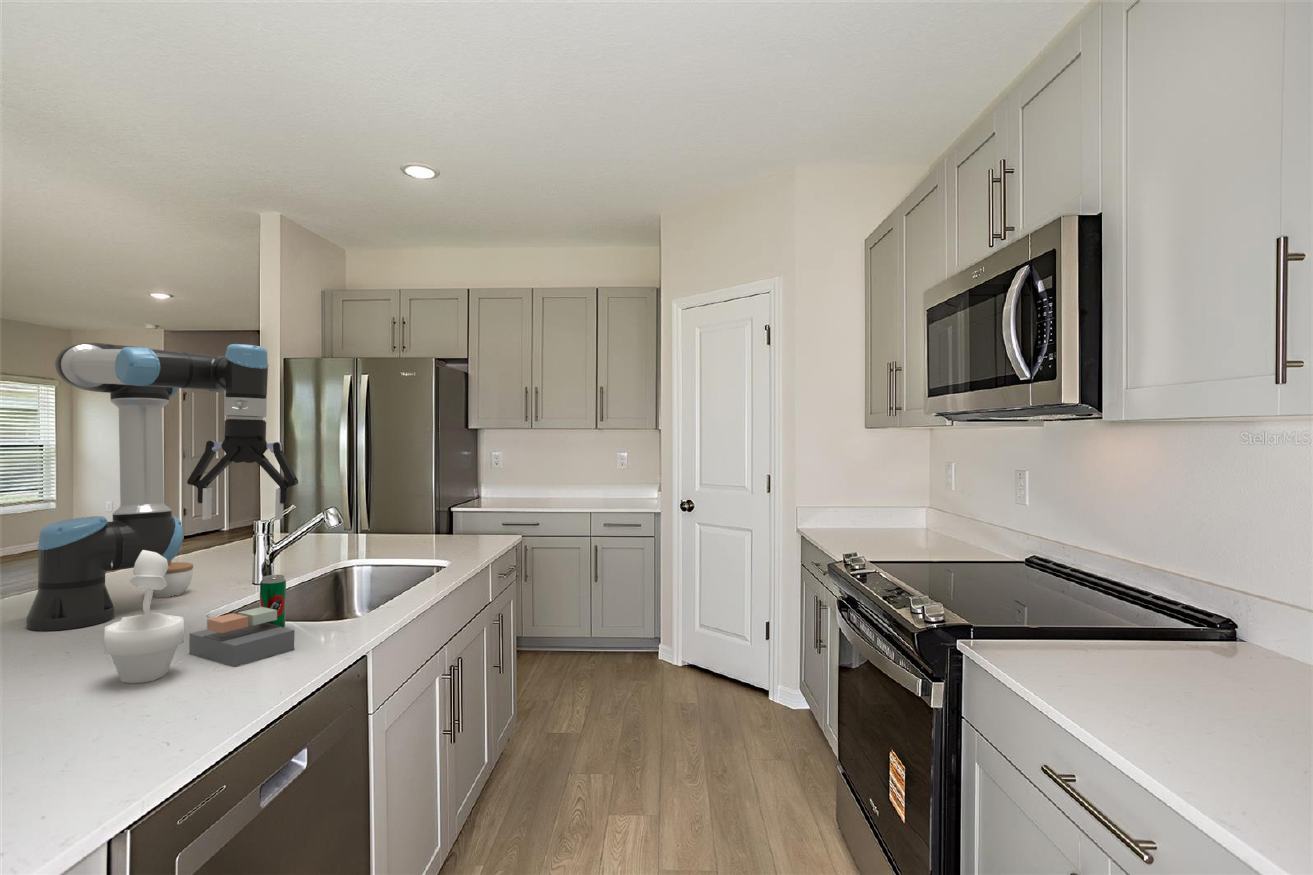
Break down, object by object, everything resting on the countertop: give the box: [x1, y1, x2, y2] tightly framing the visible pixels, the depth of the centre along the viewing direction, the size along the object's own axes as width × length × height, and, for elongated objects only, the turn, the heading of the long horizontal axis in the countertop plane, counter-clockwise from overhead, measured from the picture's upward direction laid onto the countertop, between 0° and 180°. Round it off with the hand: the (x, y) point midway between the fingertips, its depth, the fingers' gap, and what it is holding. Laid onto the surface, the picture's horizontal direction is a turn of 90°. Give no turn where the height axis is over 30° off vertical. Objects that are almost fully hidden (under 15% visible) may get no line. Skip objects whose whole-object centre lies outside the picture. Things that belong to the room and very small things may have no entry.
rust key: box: [206, 612, 248, 633], centre depth 133 cm, size 5×5×2 cm
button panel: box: [188, 623, 296, 668], centre depth 136 cm, size 15×12×4 cm
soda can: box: [259, 574, 287, 628], centre depth 150 cm, size 5×5×12 cm
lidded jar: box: [152, 560, 194, 598], centre depth 181 cm, size 11×11×9 cm
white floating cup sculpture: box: [103, 550, 185, 685], centre depth 120 cm, size 13×12×25 cm
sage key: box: [237, 606, 277, 625], centre depth 138 cm, size 5×5×2 cm
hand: (243, 519), depth 142 cm, fingers open, 13 cm apart
